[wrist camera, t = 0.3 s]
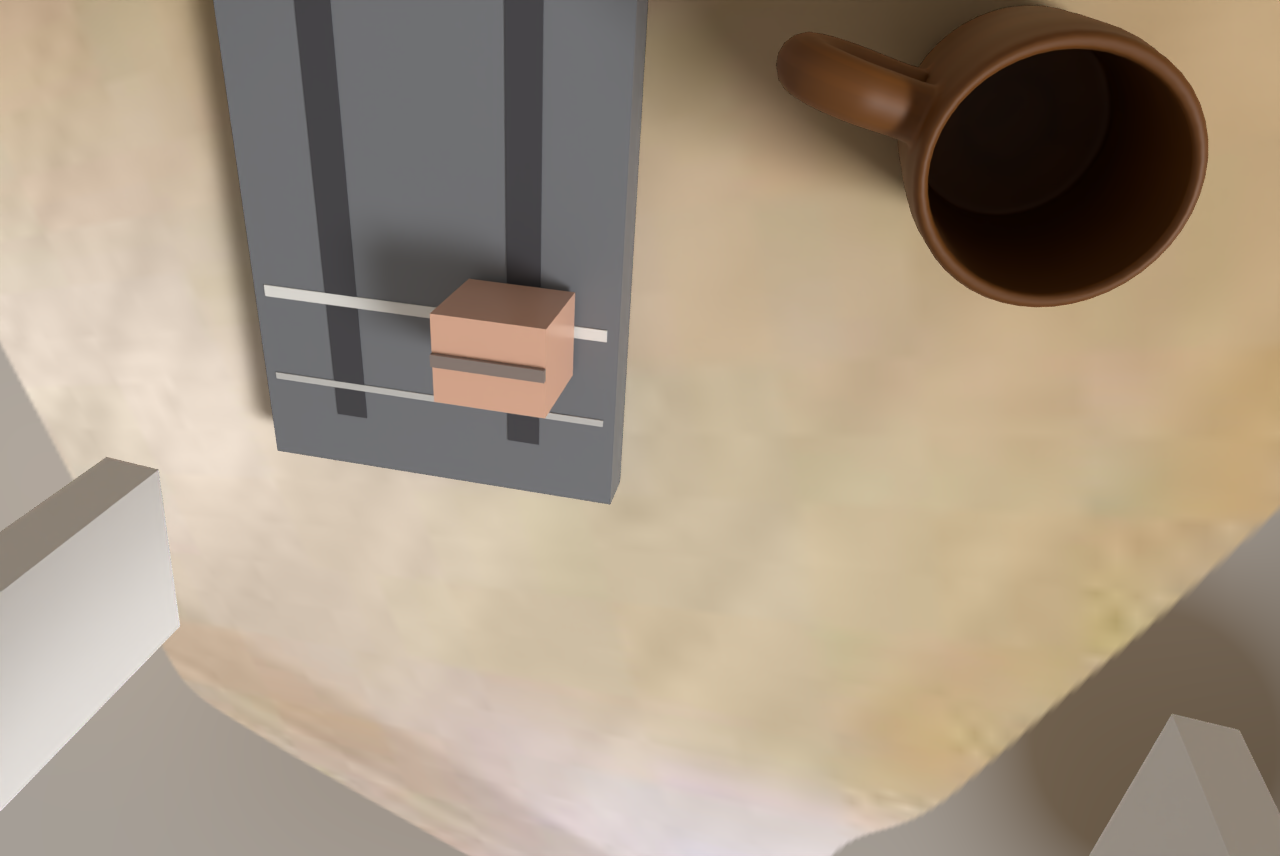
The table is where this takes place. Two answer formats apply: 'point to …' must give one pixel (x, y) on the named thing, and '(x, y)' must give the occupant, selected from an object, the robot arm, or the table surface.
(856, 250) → the table surface
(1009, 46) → the mug
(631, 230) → the console
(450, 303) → the fader
